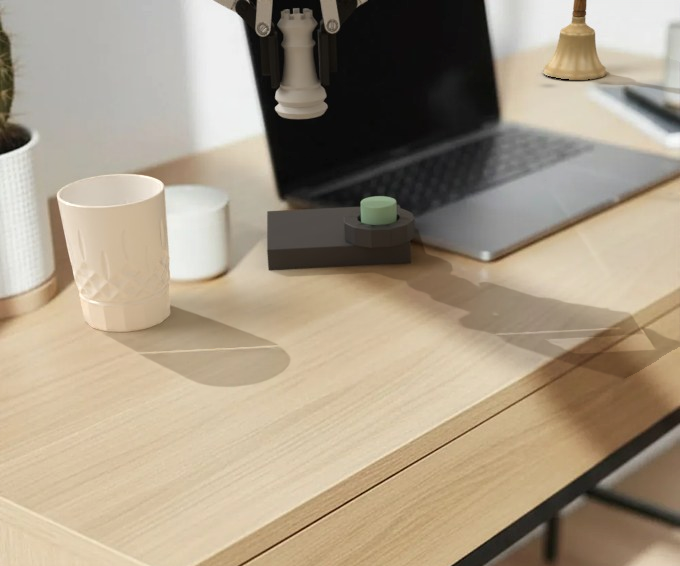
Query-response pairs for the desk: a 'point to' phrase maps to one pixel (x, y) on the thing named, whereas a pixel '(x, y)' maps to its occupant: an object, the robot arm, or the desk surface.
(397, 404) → the desk surface
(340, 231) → the scale
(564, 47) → the hand bell
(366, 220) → the button
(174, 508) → the desk surface
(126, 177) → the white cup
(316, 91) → the rook chess piece
